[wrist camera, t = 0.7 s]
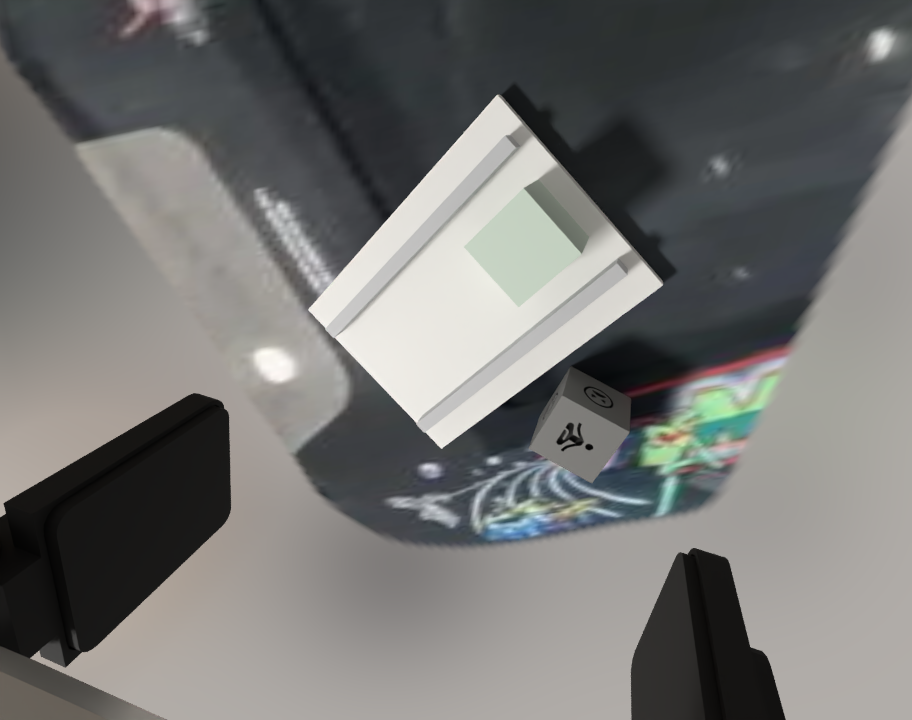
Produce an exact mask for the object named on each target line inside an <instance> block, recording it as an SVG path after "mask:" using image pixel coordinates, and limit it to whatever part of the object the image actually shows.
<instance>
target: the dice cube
mask: <svg viewBox="0 0 912 720" xmlns="http://www.w3.org/2000/svg"><path fill="white" fill-rule="evenodd" d="M630 414H631V398H629V397H628V396H626V395H624V394H622V393H620V392H618V391H616V390H615V389H613V388H611V387H609V386H607V385H605V384H603V383H601V382H600V381H598V380H596V379H594V378H592V377H590V376H588V375H587V374H585V373H583V372H581V371H579V370H577V369H575V368H573V367H572V366H570V368H569V370H568V371H567V373H566V375H565V376H564V378H563V379H562V381H561V383H560V384H559V386H558V387H557V389H556V391H555V392H554V394H553V396H552V397H551V399H550V400H549V402H548V404H547V405H546V407H545V408H544V410H543V412H542V413H541V415H540V418H539V420H538V423H537V426H536V429H535V432H534V435H533V438H532V441H531V444H530V447H529V449H531V450H532V451H534V452H536V453H538V454H540V455H541V456H543V457H545V458H547V459H549V460H550V461H552V462H554V463H556V464H558V465H559V466H561V467H563V468H565V469H567V470H569V471H570V472H572V473H574V474H576V475H578V476H579V477H581V478H583V479H585V480H587V481H588V482H590V483H592V482H593V481H594V480H595V478H596V477H597V476H598V474H599V473H600V472H601V470H602V469H603V467H604V466H605V465H606V463H607V462H608V461H609V459H610V458H611V457H612V455H613V454H614V453H615V451H616V450H617V449H618V447H619V446H620V445H621V443H622V442H623V441H624V439H625V438H626V437H627V435H628V434H629V433H630Z"/></svg>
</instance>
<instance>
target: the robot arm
mask: <svg viewBox="0 0 912 720" xmlns="http://www.w3.org/2000/svg"><path fill="white" fill-rule="evenodd" d="M229 443H230V442H229V414H228V412H227V410H225V409H224V405H223V403H222V402H221V401H219V400H216V399H213V398H210V397H207V396H204V395H201V394H196V393H193V394H191V395H188V396H187V397H185V398H183V399H182V400H180V401H178V402H176V403H175V404H173V405H171V406H170V407H168V408H166V409H165V410H163V411H161V412H159V413H158V414H156V415H154V416H152V417H151V418H149V419H147V420H146V421H144V422H142V423H140V424H139V425H137V426H135V427H134V428H132V429H130V430H128V431H127V432H125V433H123V434H122V435H120V436H118V437H116V438H115V439H113V440H111V441H110V442H108V443H106V444H104V445H103V446H101V447H99V448H98V449H96V450H94V451H93V452H91V453H89V454H87V455H86V456H84V457H82V458H80V459H79V460H77V461H75V462H74V463H72V464H70V465H68V466H67V467H65V468H63V469H61V470H60V471H58V472H56V473H55V474H53V475H51V476H50V477H48V478H46V479H44V480H43V481H41V482H39V483H38V484H36V485H34V486H32V487H31V488H29V489H27V490H25V491H24V492H22V493H20V494H19V495H17V496H15V497H13V498H12V499H10V500H8V501H7V502H5V503H4V507H5V511H6V514H5V515H3V516H2V517H0V720H166V719H164V718H162V717H160V716H157V715H155V714H153V713H151V712H148V711H146V710H144V709H142V708H139V707H137V706H135V705H133V704H131V703H128V702H126V701H124V700H122V699H119V698H117V697H115V696H113V695H110V694H108V693H106V692H104V691H102V690H99V689H97V688H95V687H93V686H90V685H88V684H86V683H84V682H81V681H79V680H77V679H75V678H72V677H70V676H68V675H66V674H64V673H61V672H59V671H57V670H55V669H52V668H50V667H48V666H46V665H43V664H41V663H39V662H37V661H34V660H32V659H30V658H31V657H32V656H33V655H34V654H36V652H38V651H39V650H40V654H41V657H43V658H45V659H48V660H50V661H52V662H54V663H57V664H59V665H61V666H63V667H67V666H68V665H69V664H70V663H71V662H72V661H73V660H74V659H75V658H76V657H77V656H78V655H79V654H80V653H82V652H88V651H89V650H92V649H93V648H94V647H96V646H97V645H98V644H99V643H100V642H101V641H102V640H103V639H104V638H105V637H106V636H107V635H108V634H109V633H111V632H112V631H113V630H114V629H115V628H116V627H117V626H118V625H119V624H120V623H121V622H122V621H123V620H124V619H125V618H126V617H127V616H128V615H129V614H130V613H131V612H133V611H134V610H135V609H136V608H137V607H138V606H139V605H140V604H141V603H142V602H143V601H144V600H145V599H146V598H147V597H148V596H149V595H150V594H151V593H152V592H153V591H155V590H156V589H157V588H158V587H159V586H160V585H161V584H162V583H163V582H164V581H165V580H166V579H167V578H168V577H169V576H170V575H171V574H172V573H173V572H174V571H175V570H177V569H178V568H179V567H180V566H181V564H183V563H184V562H185V561H186V560H187V559H188V558H189V557H190V556H191V555H192V554H193V553H194V552H195V551H196V550H197V549H198V548H200V546H201V545H203V543H205V542H206V541H207V540H208V539H209V538H210V537H211V536H212V535H213V534H214V533H215V532H216V531H217V530H218V529H219V528H221V527H222V526H223V524H224V523H225V522H226V520H227V519H228V517H229V514H230V510H231V488H230V487H231V486H230V444H229ZM631 707H632V708H631V713H632V720H786V719H785V716H784V713H783V709H782V705H781V701H780V698H779V694H778V691H777V687H776V683H775V680H774V676H773V673H772V669H771V666H770V663H769V661H768V658H767V656H766V655H765V654H764V653H763V652H762V651H760V650H756V649H754V648H751V647H750V645H749V640H748V636H747V632H746V629H745V624H744V620H743V616H742V612H741V608H740V605H739V600H738V596H737V592H736V588H735V584H734V580H733V576H732V572H731V568H730V564H729V562H728V560H727V559H726V558H725V557H721V556H718V555H715V554H712V553H709V552H705V551H702V550H699V549H696V548H693V549H691V550H690V552H689V553H688V555H687V554H684V553H681V552H680V553H678V554H677V556H676V558H675V560H674V562H673V565H672V567H671V569H670V572H669V574H668V576H667V579H666V581H665V583H664V585H663V588H662V590H661V592H660V595H659V597H658V599H657V602H656V604H655V606H654V609H653V611H652V613H651V615H650V618H649V620H648V623H647V625H646V627H645V629H644V631H643V634H642V636H641V639H640V641H639V643H638V645H637V648H636V650H635V653H634V657H633V660H632V668H631Z"/></svg>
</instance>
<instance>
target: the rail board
mask: <svg viewBox="0 0 912 720" xmlns="http://www.w3.org/2000/svg"><path fill="white" fill-rule="evenodd" d="M661 286H663V281H662V279H661V278H660V277H659V276H658V275H657V274H656V273H655V271H654V270H653V269H652V268H651V267H650V266H649V265H648V263H647V262H646V261H645V260H644V259H643V258H642V256H641V255H640V254H639V253H638V252H637V251H636V250H635V248H634V247H633V246H632V245H631V244H630V243H629V242H628V240H627V239H626V238H625V237H624V236H623V235H622V233H621V232H620V231H619V230H618V229H617V228H616V227H615V225H614V224H613V223H612V222H611V221H610V220H609V219H608V217H607V216H606V215H605V214H604V213H603V212H602V211H601V209H600V208H599V207H598V206H597V205H596V204H595V202H594V201H593V200H592V199H591V198H590V197H589V196H588V194H587V193H586V192H585V191H584V190H583V189H582V188H581V186H580V185H579V184H578V183H577V182H576V181H575V179H574V178H573V177H572V176H571V175H570V174H569V173H568V171H567V170H566V169H565V168H564V167H563V166H562V165H561V163H560V162H559V161H558V160H557V159H556V158H555V156H554V155H553V154H552V153H551V152H550V151H549V150H548V148H547V147H546V146H545V145H544V144H543V143H542V142H541V140H540V139H539V138H538V137H537V136H536V135H535V133H534V132H533V131H532V130H531V129H530V128H529V127H528V125H527V124H526V123H525V122H524V121H523V120H522V119H521V117H520V116H519V115H518V114H517V113H516V112H515V110H514V109H513V108H512V107H511V106H510V105H509V104H508V102H507V101H506V100H505V99H504V98H503V97H502V96H501V95H497V96H496V97H495V98H494V99H493V100H492V101H491V103H490V104H489V105H488V106H487V107H486V108H485V109H484V110H483V112H482V113H481V114H480V115H479V116H478V117H477V118H476V120H475V121H474V122H473V123H472V124H471V125H470V126H469V128H468V129H467V130H466V131H465V132H464V133H463V134H462V136H461V137H460V138H459V139H458V140H457V141H456V142H455V143H454V145H453V146H452V147H451V148H450V149H449V150H448V151H447V153H446V154H445V155H444V156H443V157H442V158H441V159H440V161H439V162H438V163H437V164H436V165H435V166H434V167H433V169H432V170H431V171H430V172H429V173H428V174H427V175H426V176H425V178H424V179H423V180H422V181H421V182H420V183H419V184H418V186H417V187H416V188H415V189H414V190H413V191H412V192H411V194H410V195H409V196H408V197H407V198H406V199H405V200H404V201H403V203H402V204H401V205H400V206H399V207H398V208H397V209H396V211H395V212H394V213H393V214H392V215H391V216H390V217H389V219H388V220H387V221H386V222H385V223H384V224H383V225H382V227H381V228H380V229H379V230H378V231H377V232H376V233H375V234H374V236H373V237H372V238H371V239H370V240H369V241H368V242H367V244H366V245H365V246H364V247H363V248H362V249H361V250H360V252H359V253H358V254H357V255H356V256H355V257H354V258H353V259H352V261H351V262H350V263H349V264H348V265H347V266H346V267H345V269H344V270H343V271H342V272H341V273H340V274H339V275H338V277H337V278H336V279H335V280H334V281H333V282H332V283H331V285H330V286H329V287H328V288H327V289H326V290H325V291H324V292H323V294H322V295H321V296H320V297H319V298H318V299H317V300H316V302H315V303H314V304H313V305H312V306H311V307H310V308H309V311H310V312H311V313H312V314H313V315H314V316H315V317H316V318H317V319H318V320H319V322H320V323H321V324H322V325H323V326H324V327H325V330H326V331H327V332H328V333H329V334H330V335H331V336H332V337H333V338H336V339H337V340H338V341H339V342H340V343H341V344H342V346H343V347H344V348H345V349H346V350H347V351H348V352H349V353H350V354H351V355H352V356H353V357H354V358H355V359H356V360H357V361H358V362H359V363H360V364H361V365H362V366H363V367H364V368H365V370H366V371H367V372H368V373H369V374H370V375H371V376H372V377H373V378H374V379H375V380H376V381H377V382H378V383H379V384H380V385H381V386H382V387H383V388H384V389H385V390H386V391H387V392H388V394H389V395H390V396H391V397H392V398H393V399H394V400H395V401H396V402H397V403H398V404H399V405H400V406H401V407H402V408H403V409H404V410H405V411H406V412H407V413H408V414H409V415H410V417H411V418H412V419H413V420H414V421H415V422H416V425H417V426H418V427H419V428H420V429H421V430H422V431H423V432H424V433H425V432H426V433H427V434H428V435H429V436H430V437H431V438H432V439H433V441H434V442H435V443H436V444H437V445H438V446H439V447H440V448H441V449H442V448H443V447H444V446H446V445H447V444H448V443H450V442H451V441H452V440H454V439H455V438H457V437H458V436H459V435H461V434H462V433H463V432H465V431H466V430H467V429H469V428H470V427H471V426H473V425H474V424H475V423H477V422H478V421H480V420H481V419H482V418H484V417H485V416H486V415H488V414H489V413H490V412H492V411H493V410H494V409H496V408H497V407H499V406H500V405H501V404H503V403H504V402H505V401H507V400H508V399H509V398H511V397H512V396H513V395H515V394H516V393H518V392H519V391H520V390H522V389H523V388H524V387H526V386H527V385H528V384H530V383H531V382H532V381H534V380H535V379H537V378H538V377H539V376H541V375H542V374H543V373H545V372H546V371H547V370H549V369H550V368H551V367H553V366H554V365H556V364H557V363H558V362H560V361H561V360H562V359H564V358H565V357H566V356H568V355H569V354H570V353H572V352H573V351H574V350H576V349H577V348H579V347H580V346H581V345H583V344H584V343H585V342H587V341H588V340H589V339H591V338H592V337H593V336H595V335H596V334H598V333H599V332H600V331H602V330H603V329H604V328H606V327H607V326H608V325H610V324H611V323H612V322H614V321H615V320H617V319H618V318H619V317H621V316H622V315H623V314H625V313H626V312H627V311H629V310H630V309H631V308H633V307H634V306H636V305H637V304H638V303H640V302H641V301H642V300H644V299H645V298H646V297H648V296H649V295H650V294H652V293H653V292H654V291H656V290H657V289H659V288H660V287H661Z"/></svg>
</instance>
